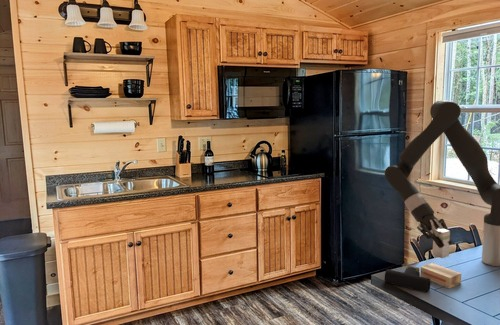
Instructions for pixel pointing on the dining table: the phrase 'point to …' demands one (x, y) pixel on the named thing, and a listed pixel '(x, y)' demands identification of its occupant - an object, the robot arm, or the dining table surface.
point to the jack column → (445, 238)
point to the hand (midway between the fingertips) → (446, 245)
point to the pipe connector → (408, 279)
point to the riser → (441, 275)
